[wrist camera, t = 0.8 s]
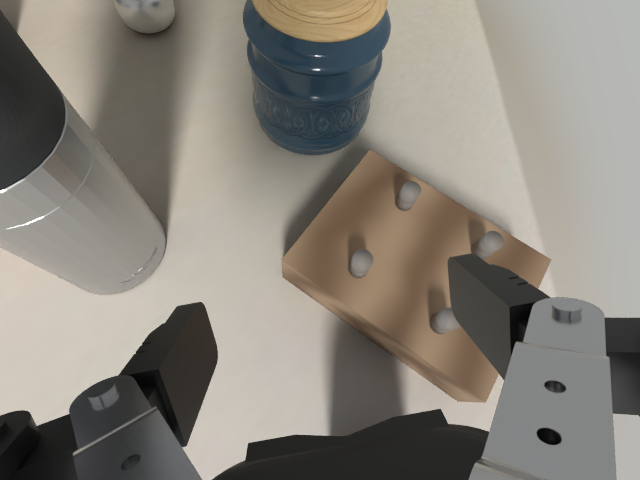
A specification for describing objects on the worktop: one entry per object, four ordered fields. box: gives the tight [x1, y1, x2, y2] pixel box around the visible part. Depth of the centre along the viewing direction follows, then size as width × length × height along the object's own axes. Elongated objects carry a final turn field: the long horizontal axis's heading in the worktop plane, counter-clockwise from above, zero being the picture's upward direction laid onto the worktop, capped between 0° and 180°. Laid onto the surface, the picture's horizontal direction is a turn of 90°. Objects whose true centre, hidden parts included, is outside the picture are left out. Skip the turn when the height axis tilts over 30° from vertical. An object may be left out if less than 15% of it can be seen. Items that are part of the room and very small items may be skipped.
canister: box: [243, 0, 391, 155], centre depth 35 cm, size 13×13×18 cm
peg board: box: [282, 150, 551, 402], centre depth 33 cm, size 19×14×8 cm
